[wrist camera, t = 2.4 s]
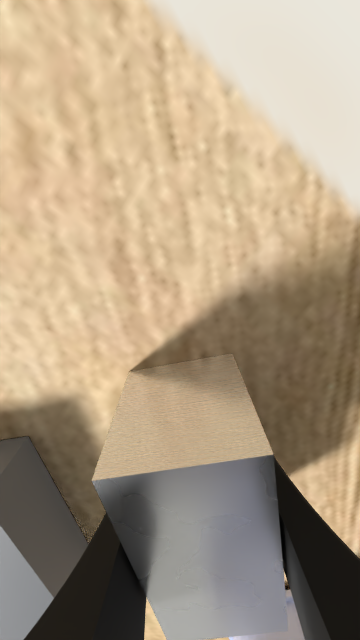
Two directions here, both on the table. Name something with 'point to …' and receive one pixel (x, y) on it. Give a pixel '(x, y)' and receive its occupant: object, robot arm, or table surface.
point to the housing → (196, 500)
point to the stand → (31, 538)
